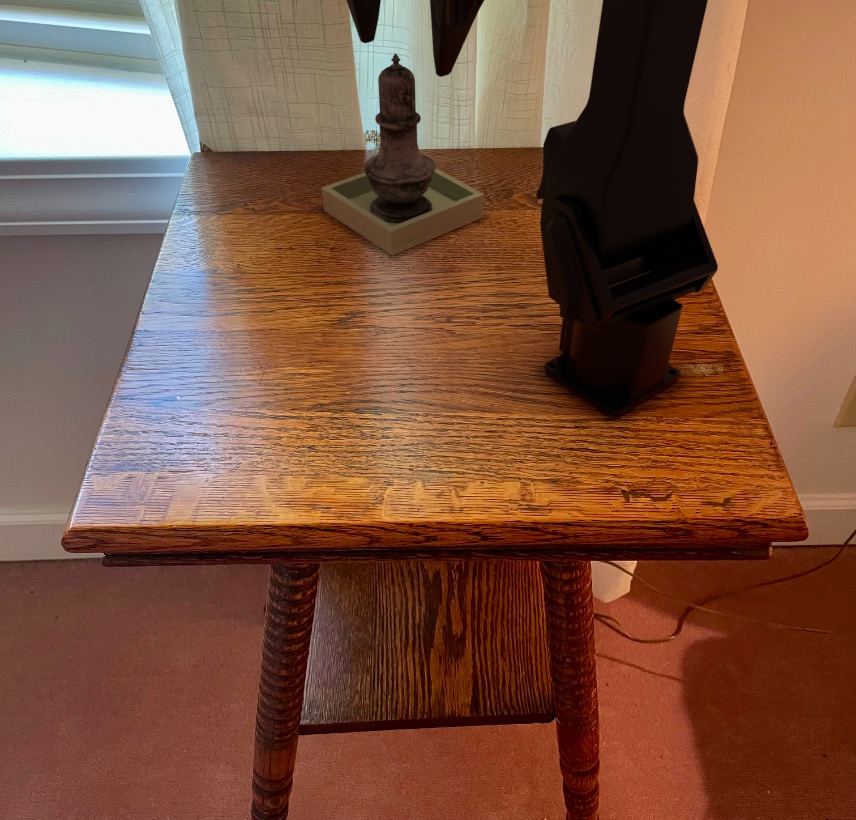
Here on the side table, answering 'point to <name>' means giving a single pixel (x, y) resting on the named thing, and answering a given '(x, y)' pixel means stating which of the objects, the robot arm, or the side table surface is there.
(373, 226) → the tray
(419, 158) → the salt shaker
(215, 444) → the side table surface
